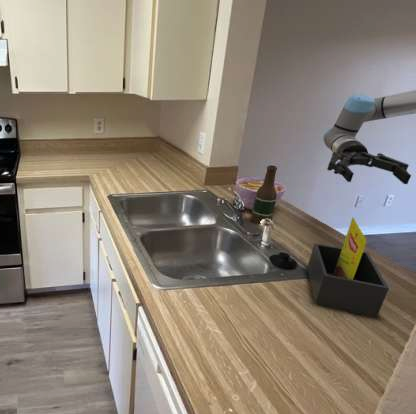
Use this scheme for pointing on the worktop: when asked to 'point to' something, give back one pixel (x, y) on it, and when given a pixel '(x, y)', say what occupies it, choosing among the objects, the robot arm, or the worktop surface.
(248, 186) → the bowl of food
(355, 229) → the food package
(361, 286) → the storage bin
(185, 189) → the worktop surface
